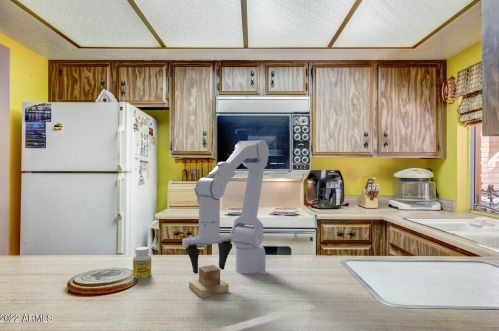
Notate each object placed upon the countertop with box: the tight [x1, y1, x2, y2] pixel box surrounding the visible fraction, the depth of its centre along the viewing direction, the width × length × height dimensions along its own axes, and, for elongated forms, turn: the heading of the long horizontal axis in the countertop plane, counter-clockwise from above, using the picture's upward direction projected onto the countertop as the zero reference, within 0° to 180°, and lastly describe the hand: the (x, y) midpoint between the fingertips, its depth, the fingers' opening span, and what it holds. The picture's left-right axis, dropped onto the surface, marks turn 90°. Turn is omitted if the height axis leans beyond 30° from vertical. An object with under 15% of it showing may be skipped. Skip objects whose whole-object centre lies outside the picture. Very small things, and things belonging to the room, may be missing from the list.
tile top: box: [188, 278, 230, 299], centre depth 85 cm, size 8×8×2 cm
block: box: [198, 264, 221, 287], centre depth 85 cm, size 4×4×4 cm
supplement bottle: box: [132, 246, 152, 280], centre depth 95 cm, size 5×5×10 cm
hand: (208, 270), depth 85 cm, fingers open, 7 cm apart
